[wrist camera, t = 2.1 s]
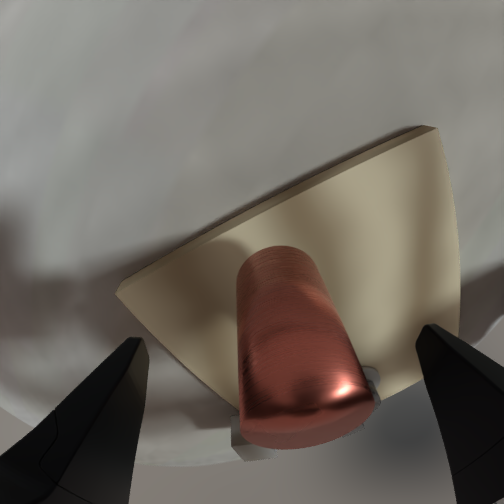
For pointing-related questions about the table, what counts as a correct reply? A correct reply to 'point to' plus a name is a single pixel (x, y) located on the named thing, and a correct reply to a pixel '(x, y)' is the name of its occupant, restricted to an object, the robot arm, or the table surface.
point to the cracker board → (322, 268)
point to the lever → (295, 356)
